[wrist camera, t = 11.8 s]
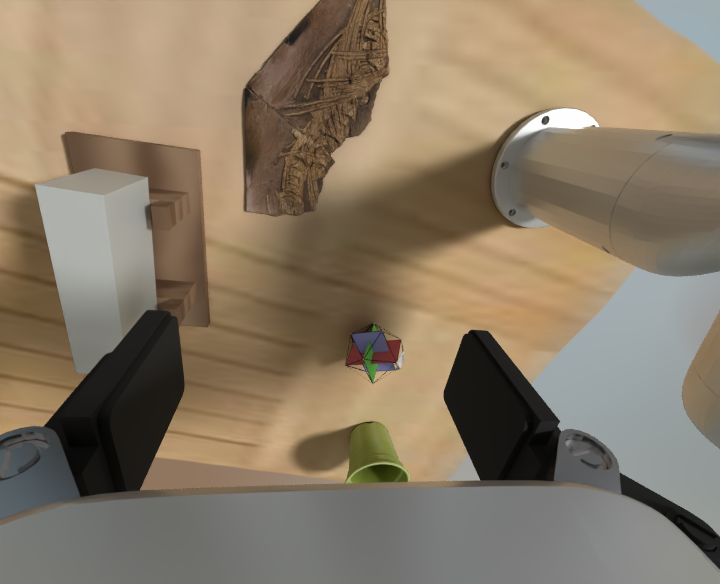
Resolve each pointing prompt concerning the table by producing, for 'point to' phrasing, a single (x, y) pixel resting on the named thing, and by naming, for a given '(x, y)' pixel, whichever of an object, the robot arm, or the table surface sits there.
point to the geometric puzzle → (374, 352)
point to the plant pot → (374, 456)
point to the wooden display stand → (162, 214)
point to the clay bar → (99, 257)
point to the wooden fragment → (312, 102)
